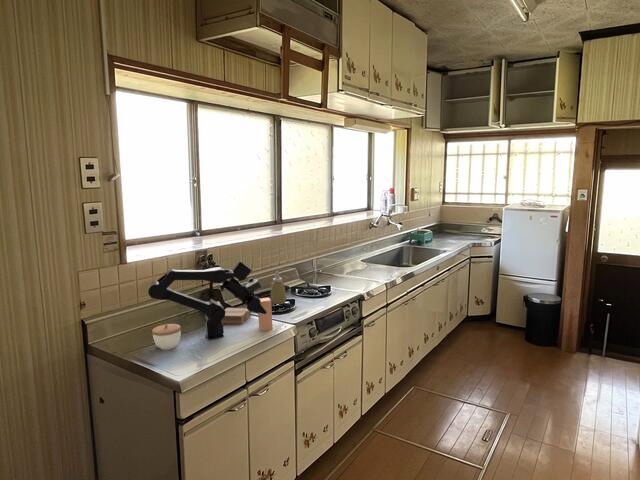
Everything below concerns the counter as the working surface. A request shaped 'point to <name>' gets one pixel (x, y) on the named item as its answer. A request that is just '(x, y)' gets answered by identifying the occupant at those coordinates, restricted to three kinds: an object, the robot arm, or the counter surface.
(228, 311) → the walnut base block
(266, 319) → the tall terracotta block
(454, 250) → the counter surface
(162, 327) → the lidded jar
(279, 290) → the squeeze bottle
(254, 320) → the counter surface
